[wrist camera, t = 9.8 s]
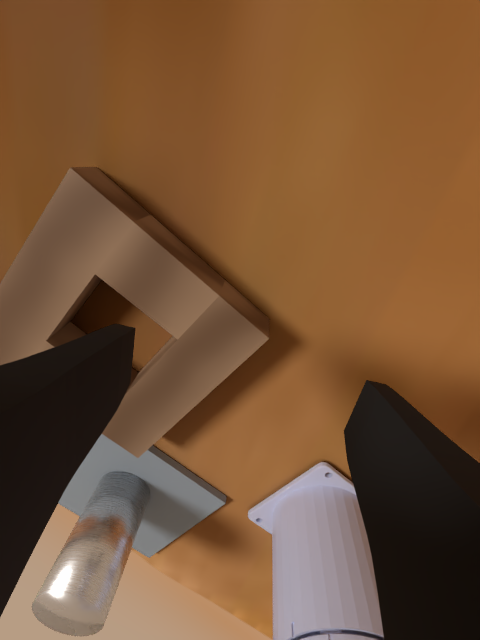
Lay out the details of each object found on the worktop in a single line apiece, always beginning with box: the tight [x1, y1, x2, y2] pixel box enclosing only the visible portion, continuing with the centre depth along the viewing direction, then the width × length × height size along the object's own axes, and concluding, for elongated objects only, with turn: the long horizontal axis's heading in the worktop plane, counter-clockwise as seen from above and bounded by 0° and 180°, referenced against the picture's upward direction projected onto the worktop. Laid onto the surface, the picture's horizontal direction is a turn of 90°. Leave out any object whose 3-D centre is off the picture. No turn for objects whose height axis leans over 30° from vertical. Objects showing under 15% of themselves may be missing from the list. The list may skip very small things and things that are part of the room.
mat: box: [58, 434, 226, 558], centre depth 26 cm, size 12×10×1 cm
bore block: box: [0, 167, 269, 458], centre depth 20 cm, size 12×12×2 cm
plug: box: [32, 471, 150, 636], centre depth 22 cm, size 4×4×8 cm
